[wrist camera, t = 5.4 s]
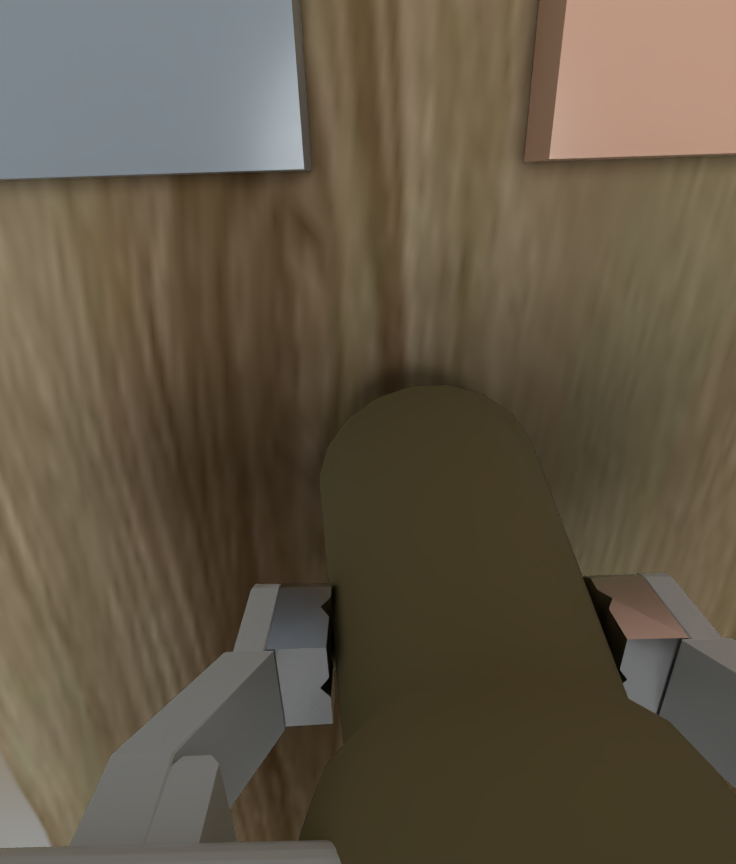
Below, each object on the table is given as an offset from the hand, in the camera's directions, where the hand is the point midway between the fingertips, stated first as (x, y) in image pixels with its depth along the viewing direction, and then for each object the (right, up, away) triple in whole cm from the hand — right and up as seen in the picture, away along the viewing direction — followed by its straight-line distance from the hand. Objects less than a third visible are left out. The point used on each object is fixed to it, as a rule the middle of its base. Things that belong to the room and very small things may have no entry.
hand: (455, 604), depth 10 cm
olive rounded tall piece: (0, +2, +4) cm, 5 cm away
